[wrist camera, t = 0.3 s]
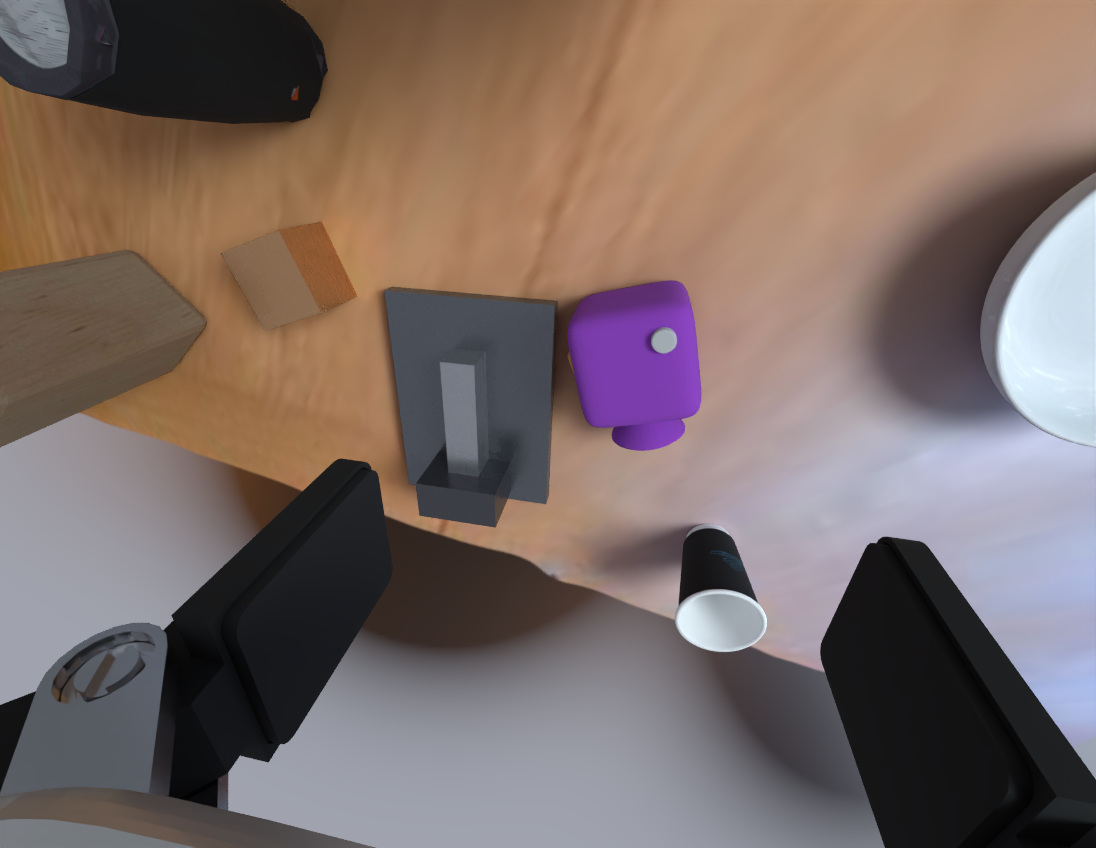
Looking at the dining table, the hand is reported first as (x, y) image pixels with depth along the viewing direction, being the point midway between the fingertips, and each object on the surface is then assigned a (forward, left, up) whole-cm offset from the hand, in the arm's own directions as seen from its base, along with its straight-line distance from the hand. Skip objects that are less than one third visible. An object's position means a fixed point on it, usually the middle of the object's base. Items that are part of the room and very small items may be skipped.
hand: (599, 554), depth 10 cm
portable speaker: (-12, -30, -36) cm, 48 cm away
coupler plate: (+16, -15, -36) cm, 42 cm away
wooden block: (+10, -51, -36) cm, 63 cm away
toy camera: (+9, +1, -36) cm, 37 cm away
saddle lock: (+4, -31, -36) cm, 48 cm away
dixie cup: (+30, +11, -36) cm, 48 cm away
